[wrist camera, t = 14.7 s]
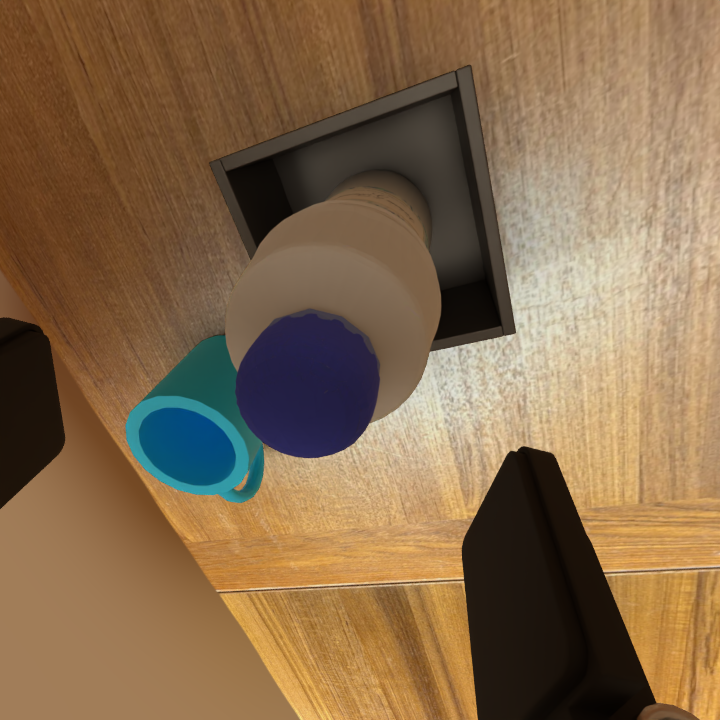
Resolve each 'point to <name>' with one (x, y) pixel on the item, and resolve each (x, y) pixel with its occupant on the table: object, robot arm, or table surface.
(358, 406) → the bottle
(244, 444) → the mug
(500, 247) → the bin
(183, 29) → the table surface
